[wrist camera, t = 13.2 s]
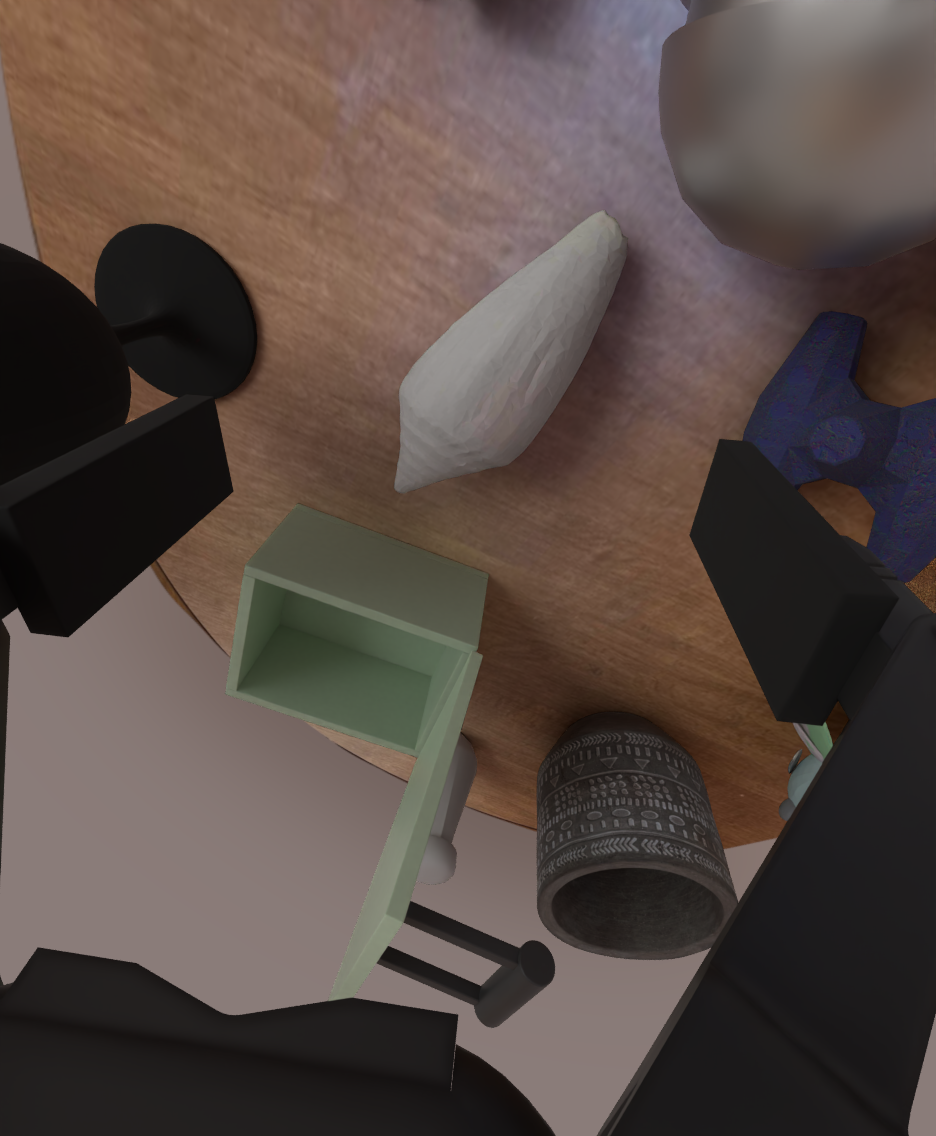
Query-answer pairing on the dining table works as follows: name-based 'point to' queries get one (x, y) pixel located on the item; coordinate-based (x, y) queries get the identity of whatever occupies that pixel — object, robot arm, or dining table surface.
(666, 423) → the dining table surface
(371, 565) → the chest
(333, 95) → the dining table surface
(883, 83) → the sphere
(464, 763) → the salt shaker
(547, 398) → the seashell
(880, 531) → the tetrapod
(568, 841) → the planter
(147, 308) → the wine glass
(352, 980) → the lid
